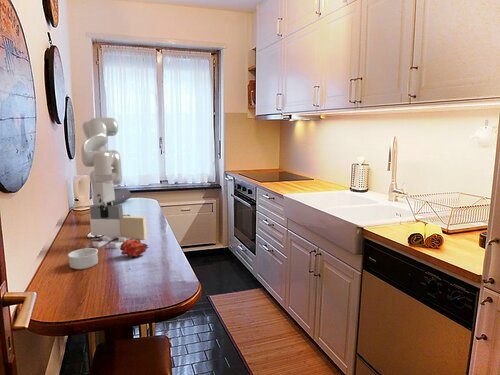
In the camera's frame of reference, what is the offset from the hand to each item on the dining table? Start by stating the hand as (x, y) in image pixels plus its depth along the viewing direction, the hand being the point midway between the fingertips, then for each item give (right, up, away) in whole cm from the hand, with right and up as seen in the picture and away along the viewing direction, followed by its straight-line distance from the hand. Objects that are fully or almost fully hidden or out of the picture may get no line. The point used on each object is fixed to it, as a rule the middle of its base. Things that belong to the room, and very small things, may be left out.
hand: (107, 216), depth 176 cm
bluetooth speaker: (-29, +1, +97) cm, 101 cm away
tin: (-1, -10, +25) cm, 27 cm away
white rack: (-1, -13, +7) cm, 15 cm away
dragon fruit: (+17, -17, -14) cm, 28 cm away
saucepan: (-1, -18, -19) cm, 27 cm away
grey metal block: (0, -1, 0) cm, 1 cm away
